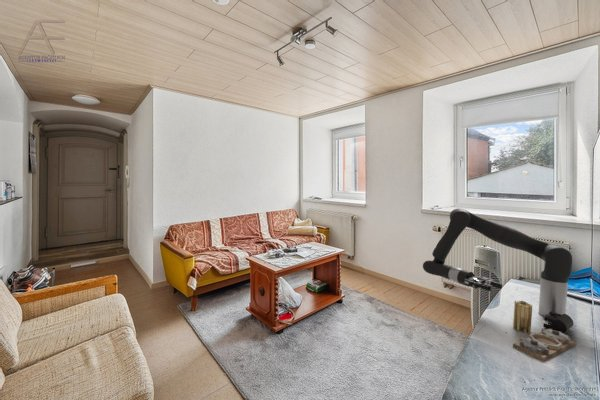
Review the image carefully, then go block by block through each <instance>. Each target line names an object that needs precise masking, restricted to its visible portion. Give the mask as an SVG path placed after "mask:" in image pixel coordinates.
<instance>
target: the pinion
mask: <svg viewBox="0 0 600 400" xmlns="http://www.w3.org/2000/svg"><path fill="white" fill-rule="evenodd" d="M513 304H514V305H513V306H514V307H513V322H512V328H513V329H514V328H515V330H516V331H517V330H518V332H522V331H523V332H522V333H524V332H525V333H524V334H526V333H528V332H529V334H532V332H531V331H532V317H533V304H531V303H530V304H529V302H526V301H523V300H518V301H517V300H514V303H513Z"/></svg>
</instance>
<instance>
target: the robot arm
mask: <svg viewBox="0 0 600 400" xmlns="http://www.w3.org/2000/svg"><path fill="white" fill-rule="evenodd" d="M466 228H469V229H471V230H474V231H476V232H478V233H480V234H481V235H482V236H484V237H486V238H488V239H490V240H491V241H494V242H495V243H498V244H501V245H503V246H506V247H509V248H512V249H514V250H520V251H523V252H527V253H529V254H531V255H533V256H535V257H536V258H539V259H540V260H542V261H544V268H543V270H542V271H541V272H540V284H539V285H540V286H539V297H538V298H539V299H538V313H539V314H540V315H541V316H543V317H544V316H545V315H546V314H547V315H550V314H549V312H554V313H557V314H561V315H563V314H567V313H566V312H567V300H568V299H567V298H568V284H569V283H568V282H569V278H570V277H571V274H572V267H573V255H572V253H571V252H570V251H569V250H568V249H567V248H565V247H563V246H559V245H557V244H553V243H548V242H545V241H542V240H538V239H536V238H533V237H531V236H529V235H527V234H526V233H523V232H521V231H519V230H518V229H516V228H513V227H509V226H507V225H504V224H501V223H499V222H496V221H493V220H490V219H486V218H484V217H480V216H478V215H476V214H474V213H472V212H470V211H469V210H466V209H464V208H455V209H453V210H452V211H451V212H450V214H449V223H448V226H447V229H446V230H445V233H444V234H443V236H442V237H440V239H439V240H438V241H437V242H438V243H436V246H435V248H434V249H433V251H432V257H433V260H431V259H430V260H426V261H425V260H424V261H423V264H422V269H423V270H424V272H425V273H427V274H430V275H433V276H438V277H442V278H444V279H447V280H449V281H452V282H455V283H457V284H459V285H463V286H465V287H471V288H473V289H482V290H485V291H488V292H491V291H492V287H493V288H496V289H500V290H501V289H502V288H503V283H500V282H496V281H495V279H493V278H489V277H485V276H482V275H481V276H476V275H475V274H474V272H473V271H470V270H468V269H463V268H461V267H456V266H452V265H448V264H445V263H446V259H447V257H448V255H449V253H450V252H451V250H452V248H453V246H454V244H455V243H456V241H457V240H458V238H459V237H460V235H461V234H462V232H463V231H465V229H466ZM550 316H551V315H550Z"/></svg>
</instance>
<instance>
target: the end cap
mask: <svg viewBox="0 0 600 400" xmlns="http://www.w3.org/2000/svg"><path fill="white" fill-rule="evenodd" d="M549 314H550V315H551V316H550V315H547V314H546V315H545V316H543V321H545V322H547V323H545V322H543V329H552V330H556V331H560V332H562V333H563V334H566V333H567V332H568V331H569V330H570V329H571V328H572V327H573V326H574V320H573V319H572V317H571V316H570V315H569V314H567V313H566V314H563V315H561V314H557V313H554V312H549Z"/></svg>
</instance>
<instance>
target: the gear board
mask: <svg viewBox="0 0 600 400" xmlns="http://www.w3.org/2000/svg"><path fill="white" fill-rule="evenodd" d="M576 344H577V341H576V340H574V339H572V338H571V337H570V335H569V334H568V335H567V334H566V333H564V334H563V333H562V332H560V331H556V330H552V329H544V328H542V329H541V331H540V332H531V333H529V336H528V337H526V338H523V337H519V341H516V342H514V343H513V345H512V347H513V348H514V347H515V349H517V348H518V349H517V350H519V349H520V350H519V351H521V350H522V351H521V352H523V353H525V354H527V355H529V356H532V357H534V358H536V359H538V360H540V361H542V362H545V361H546V360H549V359H550V358H552V357H554V356H556V355H559V354H560V353H562V352H564V351H566V350H567V349H569V348H571V347H573V346H575V345H576Z"/></svg>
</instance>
